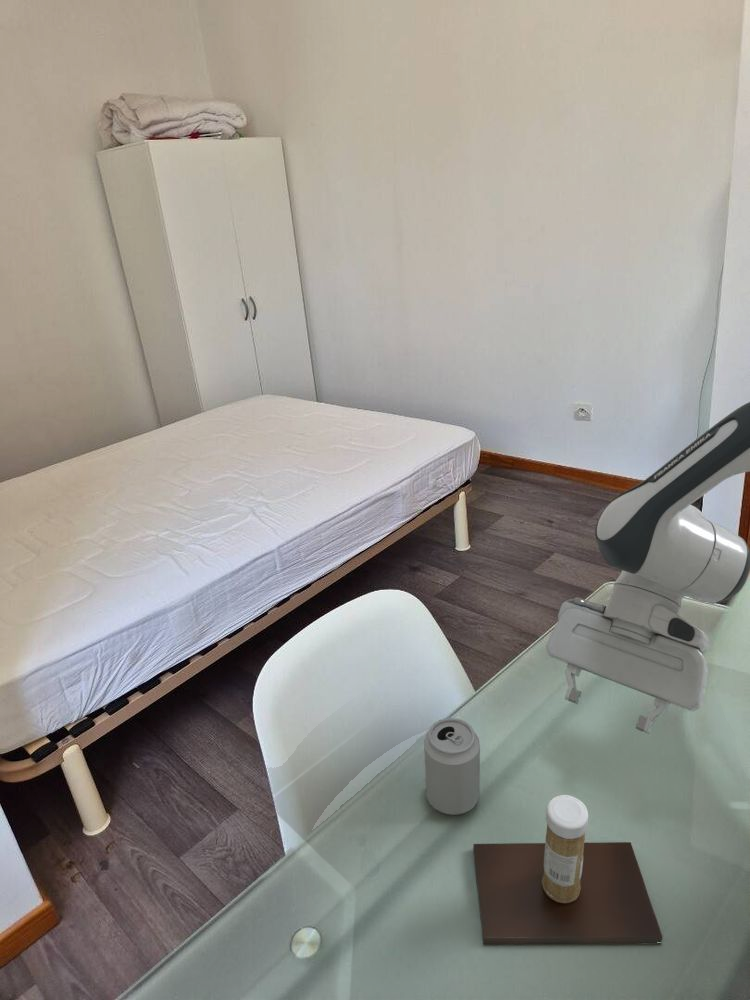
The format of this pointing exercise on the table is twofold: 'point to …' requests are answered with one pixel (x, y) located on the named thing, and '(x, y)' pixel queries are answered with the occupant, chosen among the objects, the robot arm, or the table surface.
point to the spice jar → (564, 848)
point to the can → (452, 766)
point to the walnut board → (541, 920)
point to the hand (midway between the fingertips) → (605, 716)
